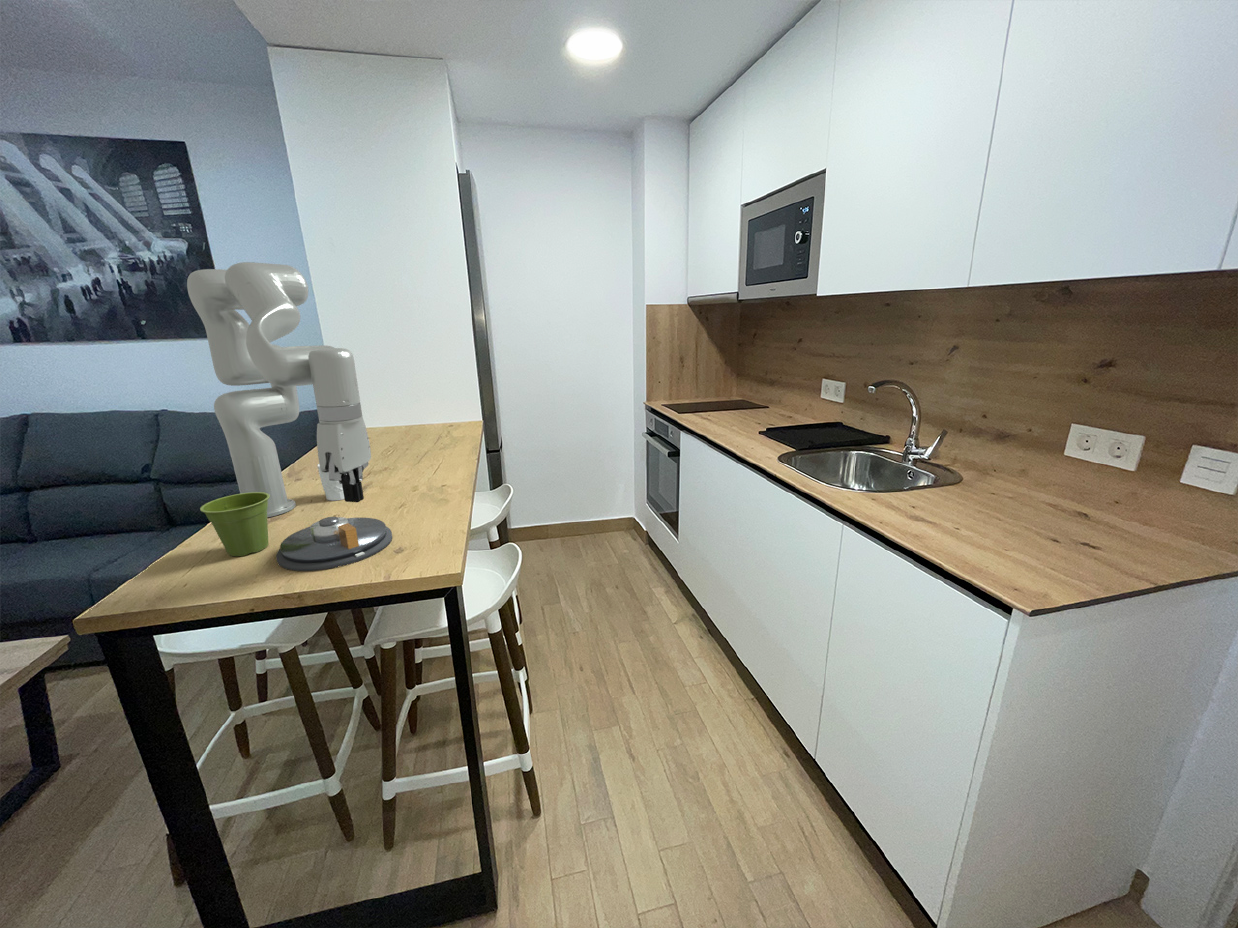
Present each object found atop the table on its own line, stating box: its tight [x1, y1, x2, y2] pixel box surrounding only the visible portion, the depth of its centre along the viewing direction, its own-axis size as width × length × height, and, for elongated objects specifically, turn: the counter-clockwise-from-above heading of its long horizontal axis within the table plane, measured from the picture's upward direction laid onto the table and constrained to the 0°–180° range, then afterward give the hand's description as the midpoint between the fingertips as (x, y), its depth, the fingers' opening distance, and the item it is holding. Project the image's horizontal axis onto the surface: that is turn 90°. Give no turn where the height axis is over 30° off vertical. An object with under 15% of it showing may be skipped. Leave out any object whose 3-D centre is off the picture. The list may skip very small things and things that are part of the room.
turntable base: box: [275, 526, 393, 572], centre depth 107 cm, size 22×22×1 cm
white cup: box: [316, 463, 347, 502], centre depth 138 cm, size 8×8×10 cm
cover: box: [309, 516, 348, 543], centre depth 106 cm, size 7×7×4 cm
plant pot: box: [199, 492, 270, 557], centre depth 105 cm, size 12×12×11 cm
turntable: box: [279, 517, 387, 563], centre depth 106 cm, size 20×20×6 cm
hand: (354, 500), depth 102 cm, fingers closed
